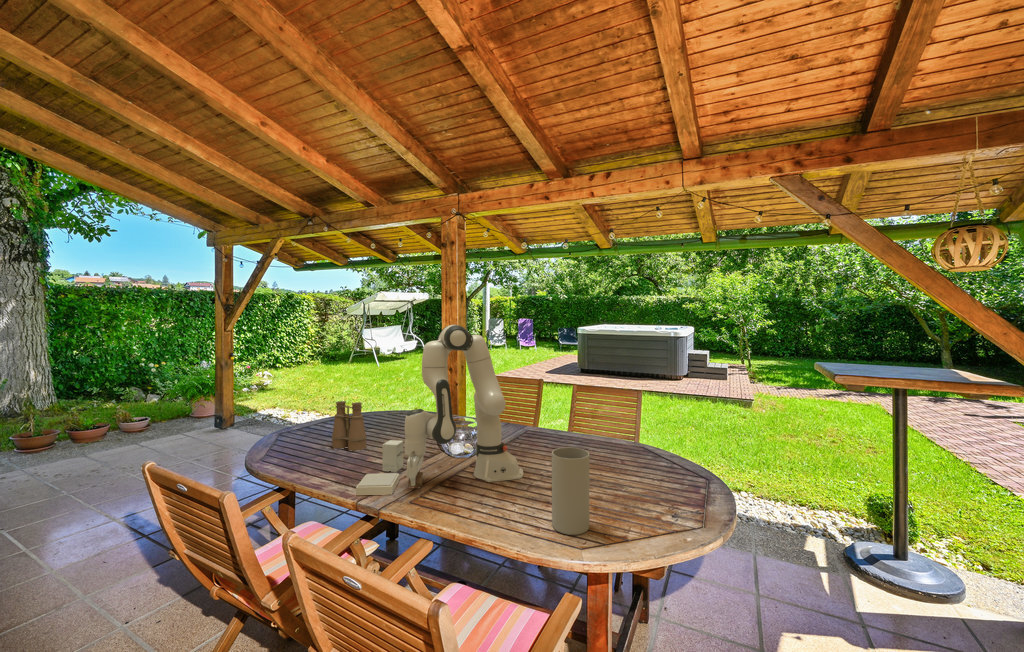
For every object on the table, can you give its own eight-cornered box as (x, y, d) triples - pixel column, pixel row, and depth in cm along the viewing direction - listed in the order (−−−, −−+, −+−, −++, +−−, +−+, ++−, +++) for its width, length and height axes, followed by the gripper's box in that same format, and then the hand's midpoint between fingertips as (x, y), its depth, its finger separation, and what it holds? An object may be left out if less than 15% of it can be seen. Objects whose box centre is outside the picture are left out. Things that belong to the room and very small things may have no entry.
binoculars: (327, 449, 228) (326, 403, 228) (340, 443, 238) (340, 399, 237) (358, 453, 221) (358, 405, 221) (370, 447, 231) (370, 402, 230)
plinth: (399, 481, 182) (399, 472, 182) (391, 495, 168) (391, 485, 168) (366, 482, 181) (366, 473, 181) (356, 496, 167) (355, 486, 167)
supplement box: (396, 472, 193) (396, 445, 193) (381, 471, 195) (381, 444, 194) (404, 466, 200) (403, 440, 200) (389, 465, 202) (389, 439, 202)
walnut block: (422, 483, 180) (422, 472, 180) (421, 488, 175) (420, 476, 175) (410, 483, 180) (410, 472, 180) (408, 488, 175) (408, 476, 175)
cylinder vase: (555, 515, 150) (555, 446, 149) (591, 520, 146) (591, 449, 146) (548, 533, 138) (548, 457, 137) (587, 538, 134) (587, 460, 134)
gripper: (418, 456, 167) (418, 491, 167) (426, 441, 188) (426, 472, 188) (402, 456, 167) (402, 491, 167) (412, 441, 187) (412, 472, 187)
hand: (415, 481), depth 178 cm, fingers open, 8 cm apart
